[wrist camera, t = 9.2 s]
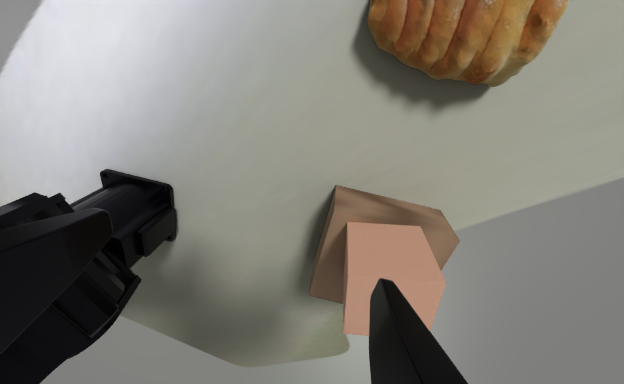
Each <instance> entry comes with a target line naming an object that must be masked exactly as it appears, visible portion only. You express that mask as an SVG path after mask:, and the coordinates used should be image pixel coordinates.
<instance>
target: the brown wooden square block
mask: <svg viewBox="0 0 624 384" xmlns="http://www.w3.org/2000/svg"><path fill="white" fill-rule="evenodd" d="M347 222H358V223H374V224H391V225H407V226H421V229H422V231H423V233H424V235H425V237H426V240H427V242H428V244H429V246H430V248H431V250H432V253H433V255H434V257H435V259H436V261H437V264H438V266H439V268H440V270H442V268H443V267H444V265H445V263H446V262H447V260H448V259H449V257H450V255H451V254H452V252H453V251H454V249H455V248H456V246H457V244H458V243H459V241H460V240H459V238H458V237H457V235H456V234H455V232H454V231H453V229H452V227H451V226H450V224H449V223H448V221H447V220H446V218H445V216H444V215H443V213H442V212H441V210H436V209H432V208H428V207H424V206H420V205H416V204H412V203H408V202H403V201H399V200H395V199H391V198H387V197H383V196H379V195H375V194H370V193H366V192H362V191H358V190H354V189H350V188H346V187H342V186H338V185H336V187H335V191H334V194H333V197H332V201H331V204H330V208H329V211H328V215H327V218H326V222H325V225H324V229H323V232H322V236H321V239H320V242H319V246H318V249H317V253H316V256H315V260H314V264H313V270H312V276H311V283H310V289H309V296H313V297H317V298H321V299H325V300H330V301H334V302H338V303H342V304H343V302H344V262H345V248H346V234H347Z"/></svg>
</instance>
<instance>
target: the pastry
mask: <svg viewBox="0 0 624 384" xmlns="http://www.w3.org/2000/svg"><path fill="white" fill-rule="evenodd" d="M567 1H568V0H370V5H369V13H368V18H367V23H368V27H369V29H370V31H371V33H372V35H373V37H374V40H375V42H376V44H377V46H378V47H379V48H380V49H382V50H384V51H386V52H387V53H390V54H392V55H394V56H395V57H397V58H398V59H399V60H400V61H401V62H402V63H403V64H405V65H407V66H410V67H412V68H416V69H419V70H421V71H423V72H425V73H426V74H427V75H428V76H429V77H431V78H432V79H435V80H441V79H453V80H458V81H467V82H469V83H472V84H482V83H483V84H486V85H487V86H490V87H495V86H499V85H501V84H503V83H505V82H506V81H507V80H509V78H510V77H512V76H514V75H516V74H518V73H519V72H520V71H521V69H522V68H523V67H524V65H526V64H528V63H529V62H531V61H532V60H533V59H534V58H535V57H536V56H537V55H538V54H539V53H540V52H541V51H542V49H543V47H544V46H545V44H546V42H547V41H548V39H549V38H550V37H551V35H552V33H553V31H554V29H555V28H556V26H557V24H558V22H559V20H560V18H561V16H562V15H563V13H564V11H565V9H566V6H567Z"/></svg>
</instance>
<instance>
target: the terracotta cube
mask: <svg viewBox="0 0 624 384" xmlns="http://www.w3.org/2000/svg"><path fill="white" fill-rule="evenodd" d="M380 278H384V279H388V280H392V281H393V282H394V283H395V284H396V286H397V287H398V288H399V290H400V291H401V292H402V294H403V295H404V297H405V298H406V299H407V301H408V302H409V303H410V305H411V306H412V308H413V309H414V310H415V312H416V313H417V314H418V316H419V317H420V319H421V320H422V321H423V323H424V324H425V325H426V327H427V328H428V329H429V331H430V329H431V327H432V324H433V320H434V317H435V315H436V312H437V309H438V306H439V303H440V300H441V297H442V294H443V291H444V288H445V284H446V281H445V279H444V277H443V275H442V272H441V270H440V268H439V266H438V264H437V261H436V259H435V257H434V255H433V253H432V250H431V248H430V246H429V244H428V242H427V240H426V237H425V235H424V233H423V231H422V229H421V226H407V225H391V224H374V223H358V222H347V234H346V248H345V262H344V302H343V333H346V334H356V335H365V336H369V321H370V298H371V294H372V292H373V290H374V288H375V286H376V284H377V282H378V280H379V279H380Z"/></svg>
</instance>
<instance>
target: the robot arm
mask: <svg viewBox="0 0 624 384" xmlns="http://www.w3.org/2000/svg"><path fill="white" fill-rule="evenodd" d="M100 176H101V181H102V185H103V187H102V188H100V189H99V190H97V191H95V192H93V193H91V194H89V195H87V196H85V197H83V198H81V199H79V200H77V201H76V202H74V203H72V204H70V205H69V204H68V203H67V202H66V201H65V197H64V196H63V195H62V194H61V193H58V194H56V195H54V196H52V197H50V198H48V197H47V196H43V195H40V194H38V193H32V194H30V195H28V196H25V197H23V198H20V199H18V200H16V201H13V202H11V203H8V204H6V205H3V206H1V207H0V384H40V383H41V382H42V381H43V380H44V379H45V378H46V377H47V376H48V375H49V374H50V373H51V372H52V371H53V370H55V369H56V368H57V367H58V366H59V365H60V364H62V363H63V362H64V361H65V360H66V359H69V358H71V357H73V356H75V355H77V354H79V353H80V352H82V351H84V350H85V349H86V348H88V347H89V346H90V345H92V344H93V343H94V342H95V341H96V340H98V339H99V338H100V337H101V336H102V335H103V334H104V333H105V332H106V331H107V330H108V329H109V328H110V327H111V326H112V325H113V323H114V322H115V321H116V319H117V318H118V316H119V315H120V313H121V312H122V310H123V308H124V307H125V305H126V304H127V302H128V301H129V299H130V298H131V296H132V294H133V293H134V291H135V290H136V288H137V287H138V285H139V284H140V282H141V278H140V277H139V276H138V275H135V274H134V273H133V272H132V271H131V270H130V268H131V267H132V266H133V265H134V264H135V263H136V262H137V261H138V260H139V259H140V258H141V257H143V256H144V257H147V256H149V255H150V254H151V253H152V252H153V251H154V250H155V249H156V248H157V247H158V246H159V245H160V244H161V243H162V242H163V241H164V240H166V241H173V240H174V239H175V238H176V231H175V229H176V220H175V208H174V201H173V189H172V187H171V186H170V185H169V184H166V183H162V182H158V181H154V180H150V179H146V178H142V177H138V176H134V175H129V174H125V173H121V172H117V171H113V170H109V169H106V170H103V171H101V172H100ZM165 188H166V189H167V190H166V189H165ZM369 359H370V371H371V384H468V383H467V382H466V380H465V379H464V378H463V376H462V375H461V373H460V372H459V371H458V370H457V368H456V366H455V365H454V364H453V362H452V361H451V360H450V359H449V357H448V356H447V354H446V353H445V351H444V350H443V349H442V347H441V346H440V345H439V343H438V342H437V340H436V339H435V338H434V336H433V335H432V334H431V332H430V331H429V329H428V328H427V327H426V325H425V324H424V323H423V321H422V320H421V319H420V317H419V316H418V314H417V313H416V312H415V310H414V309H413V308H412V306H411V305H410V303H409V302H408V301H407V299H406V298H405V297H404V295H403V294H402V292H401V291H400V290H399V288H398V287H397V286H396V284H395V283H394V282H393V281H392V280H388V279H384V278H380V279H379V280H378V282H377V284H376V286H375V288H374V290H373V292H372V294H371V298H370V321H369Z"/></svg>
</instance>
